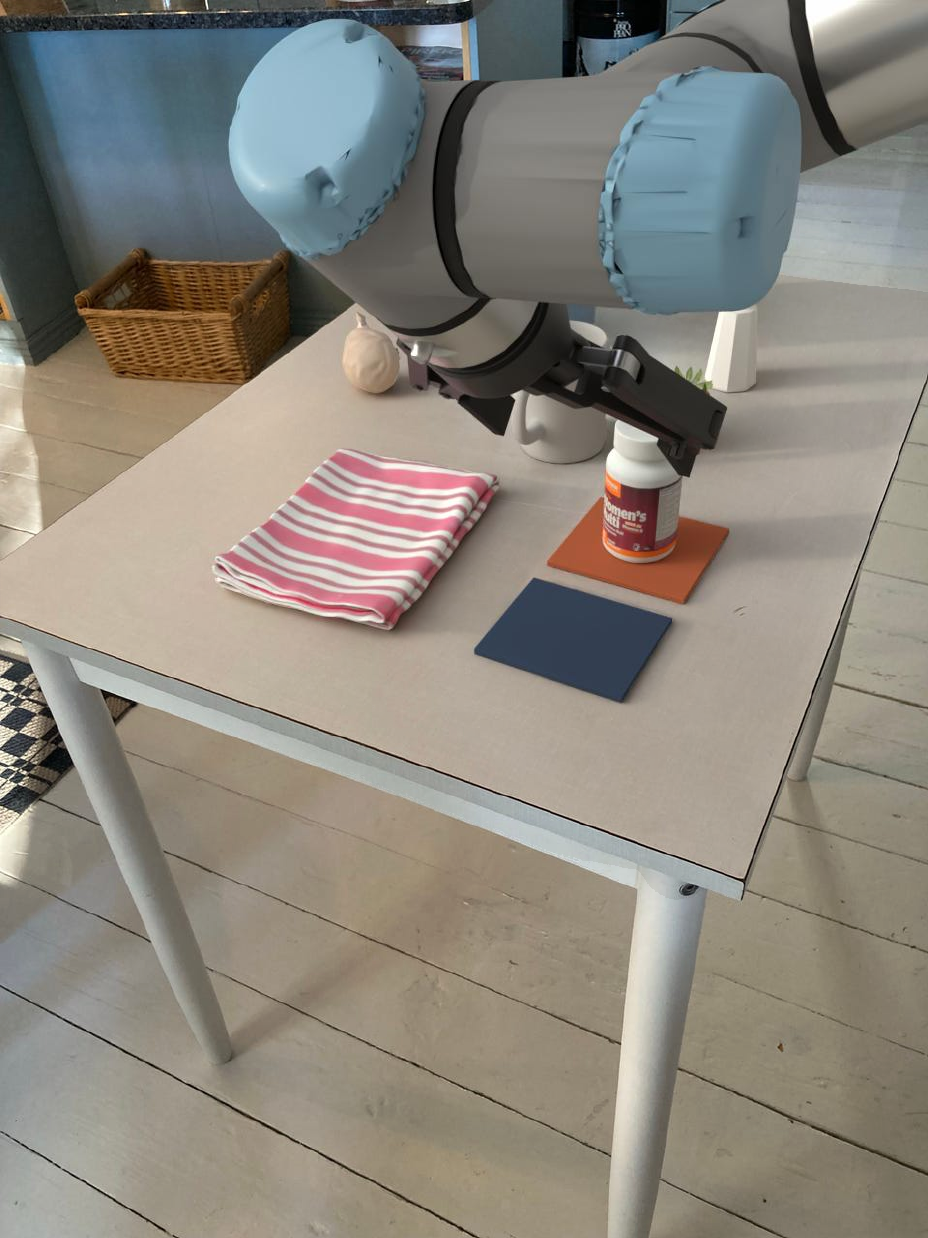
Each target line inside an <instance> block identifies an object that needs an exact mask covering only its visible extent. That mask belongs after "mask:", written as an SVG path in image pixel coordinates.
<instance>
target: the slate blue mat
mask: <svg viewBox="0 0 928 1238" xmlns="http://www.w3.org/2000/svg"><path fill="white" fill-rule="evenodd" d="M672 623H673V617H670V616H667V615H664V614H660V613H658V612H653V611H650V610H647V609H643V608H640V607H636V606H633V605H630V604H626V603H622V602H620V601H617V600H613V599H609V598H606V597H602V596H598V595H595V594H592V593H589V592H585V591H582V590H580V589H579V590H578V589H576V588H571V587H568V586H564V585H561V584H557V583H554V582H551V581H548V580H545V579H541V578H538V577H532V579H531V580H530V581H529V583H527V584H526V586H525V587H524V588H523V589H522V591H521V592H520V593H519V594H518V595H517V596H516V598H515V599H514V600H513V601H512V603H511V604H510V605H509V606H508V607H507V609H506V610H505V611H504V612H503V613H502V615H500V617H499V618H498V619H497V621H496V622H495V623H494V624H493V625H492V627H491V628H490V629H489V630H488V631H487V633H486V634H485V635H484V636H483V637H482V638H481V639H480V641H479V642H478V644H476V646H475V647H474V649H473V654H474V655H477V656H479V657H483V658H486V659H488V660H489V659H490V660H492V661H494V662H498V663H501V664H503V665H506V666H510V667H512V668H515V669H518V670H521V671H524V672H528V673H530V674H533V675H537V676H540V677H542V678H545V679H549V680H551V681H555V682H557V683H560V684H563V685H566V686H569V687H572V688H575V689H578V690H582V691H584V692H586V693H590V694H593V695H596V696H599V697H602V698H605V699H607V700H611V701H614V702H615V703H616V702H617V703H620V704H622V703H623V701H624V700H625V699H626V697H627V695H628V693H629V692H630V690H631V689H632V687H633V686H634V684H635V683H636V681H637V679H638V678H639V676H640V674H641V673H642V671H643V670H644V668H645V667H646V665H647V663H648V662H649V660H650V658H651V657H652V655H653V653H654V652H655V651H656V649H657V647H658V646H659V645H660V643H661V641H662V639H663V638H664V636H665V635H666V633H667V632H668V630H669V629H670V627H671V625H672Z"/></svg>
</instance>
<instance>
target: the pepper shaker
mask: <svg viewBox="0 0 928 1238" xmlns="http://www.w3.org/2000/svg"><path fill="white" fill-rule="evenodd" d="M758 309H759V308H758V306H757V304H755V305H753V306H751V307H749V308H747V309H744V310H740V311H734V312H718V316H717V319H716V324H715V329H714V333H713V337H712V338H713V339H712V342H711V347H710V350H709V351H710V353H709V356H708V359H707V360H708V361H707V366H706V369H705V374H704V380H705V382H707V381H712V383H711V384H713V386H712V388H711V389H712V390H716V391H719V392H723V393H726V394H728V393H729V394H730V393H741V392H746V391H748V390H749V389H751V388H752V387H753V386H754V385H756V383H757V358H758V357H757V356H758V355H757V354H758V321H759V318H758V317H759V310H758Z"/></svg>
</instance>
